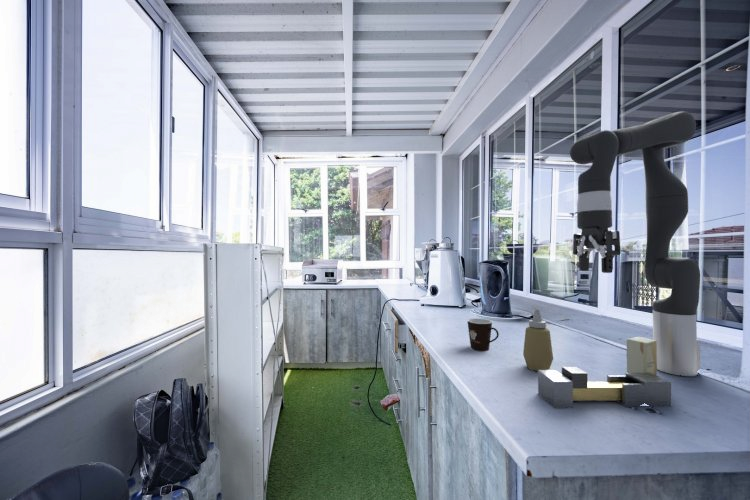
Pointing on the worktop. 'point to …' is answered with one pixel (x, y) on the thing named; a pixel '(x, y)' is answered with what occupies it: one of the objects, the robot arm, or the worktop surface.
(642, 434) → the worktop surface
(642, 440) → the worktop surface
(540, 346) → the squeeze bottle
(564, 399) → the socket
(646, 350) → the skincare box
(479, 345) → the coffee mug
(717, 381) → the worktop surface
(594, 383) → the yellow bar
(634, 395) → the sleeve
